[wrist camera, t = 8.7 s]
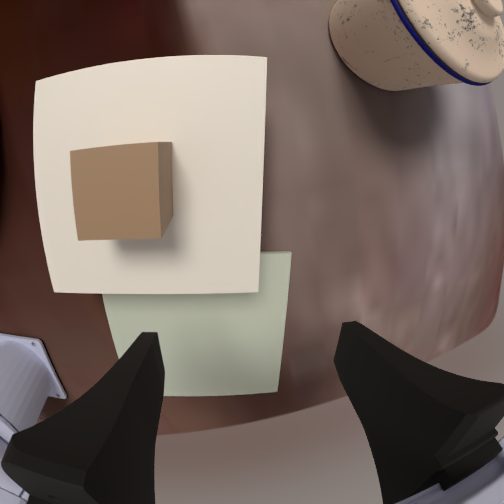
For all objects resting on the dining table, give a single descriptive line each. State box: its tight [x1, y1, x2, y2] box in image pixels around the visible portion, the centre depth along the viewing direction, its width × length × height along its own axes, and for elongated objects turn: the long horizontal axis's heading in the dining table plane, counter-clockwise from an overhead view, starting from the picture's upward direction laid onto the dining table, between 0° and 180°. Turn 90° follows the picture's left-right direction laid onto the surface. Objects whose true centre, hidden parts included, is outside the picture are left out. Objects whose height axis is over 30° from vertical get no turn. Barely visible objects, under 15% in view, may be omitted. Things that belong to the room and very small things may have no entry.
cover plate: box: [33, 55, 267, 294], centre depth 12 cm, size 12×12×4 cm
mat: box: [102, 251, 291, 396], centre depth 22 cm, size 14×14×1 cm
